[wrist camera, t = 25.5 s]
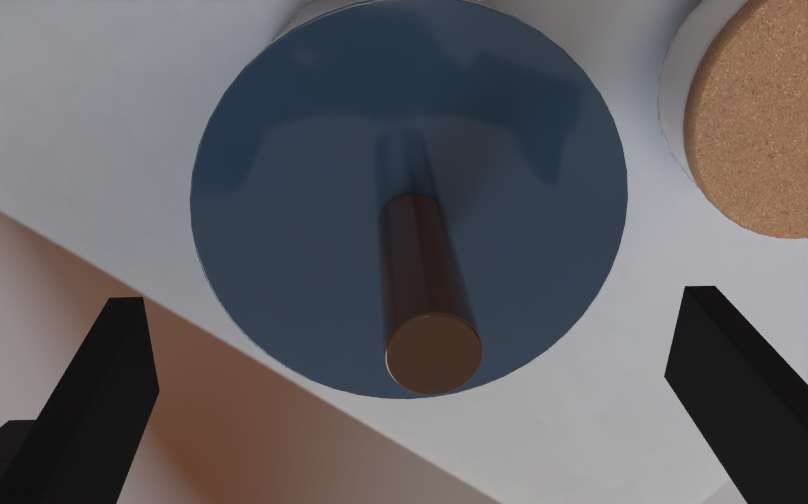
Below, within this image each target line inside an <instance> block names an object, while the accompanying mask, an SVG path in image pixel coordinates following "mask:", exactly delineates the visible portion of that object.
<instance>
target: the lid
mask: <svg viewBox="0 0 808 504" xmlns="http://www.w3.org/2000/svg"><path fill="white" fill-rule="evenodd" d="M627 201H628V188H627V169H626V163H625V158H624V152H623V147H622V143H621V140H620V137H619V134H618V131H617V128H616V125H615V122H614V119H613V117H612V115H611V113H610V111H609V109H608V107H607V105H606V103H605V102H604V100H603V98H602V96H601V94H600V92H599V91H598V90H597V88H596V87H595V85H594V84H593V83H592V81H591V80H590V78H589V77H588V76H587V74H586V73H585V72H584V70H583V69H582V68H581V67H580V66H579V65H578V64H577V63H576V62H575V61H574V60H573V59H572V58H571V57H570V56H569V55H568V54H567V53H566V52H565V51H564V50H563V49H562V48H561V47H559V46H558V45H557V44H556V43H554V42H553V41H552V40H550V39H549V38H548V37H546V36H545V35H544V34H542V33H541V32H540V31H538V30H537V29H536V28H534V27H532V26H530V25H528V24H527V23H525V22H523V21H521V20H519V19H518V18H516V17H514V16H512V15H510V14H509V13H506V12H503V11H501V10H498V9H495V8H493V7H490V6H487V5H485V4H482V3H479V2H475V1H470V0H356V1H352V2H349V3H346V4H343V5H340V6H338V7H335V8H332V9H329V10H326V11H323V12H321V13H319V14H317V15H315V16H313V17H311V18H309V19H307V20H305V21H303V22H301V23H300V24H298V25H296V26H294V27H292V28H291V29H289V30H288V31H287V32H285V33H284V34H282V35H281V36H280V37H278V38H277V39H275V40H274V41H272V42H271V43H270V44H268V45H267V46H266V47H265V48H264V49H263V50H262V51H261V52H260V53H259V54H258V55H257V56H255V57H254V58H253V59H252V60H251V61H250V62H249V63H248V64H247V65H246V66H245V67H244V68H243V70H242V71H241V72H240V73H239V75H238V76H237V77H236V79H235V80H234V81H233V82H232V84H231V85H230V86H229V87H228V89H227V90H226V91H225V93H224V95H223V96H222V98H221V100H220V101H219V103H218V105H217V107H216V108H215V110H214V112H213V113H212V115H211V117H210V119H209V121H208V124H207V126H206V129H205V131H204V134H203V136H202V139H201V141H200V144H199V147H198V151H197V155H196V159H195V163H194V168H193V172H192V181H191V193H190V211H191V227H192V232H193V237H194V242H195V247H196V252H197V255H198V258H199V260H200V263H201V266H202V269H203V272H204V274H205V277H206V279H207V281H208V283H209V285H210V287H211V289H212V291H213V292H214V294H215V296H216V298H217V300H218V302H219V303H220V304H221V306H222V307H223V309H224V310H225V311H226V313H227V314H228V316H229V317H230V319H231V320H232V321H233V322H234V323H235V325H236V326H237V327H238V328H239V329H240V330H241V331H242V332H243V333H244V334H245V335H246V337H247V338H248V339H249V340H250V341H252V342H253V343H254V344H255V345H256V346H258V347H259V348H260V349H261V350H262V351H263V352H265V353H266V354H267V355H268V356H270V357H271V358H273V359H274V360H276V361H277V362H279V363H280V364H282V365H283V366H285V367H286V368H288V369H290V370H292V371H294V372H296V373H298V374H300V375H302V376H304V377H305V378H307V379H309V380H312V381H314V382H317V383H320V384H322V385H325V386H328V387H331V388H333V389H337V390H341V391H345V392H349V393H353V394H357V395H363V396H370V397H378V398H391V399H415V398H428V397H436V396H442V395H447V394H453V393H458V392H461V391H465V390H468V389H472V388H475V387H479V386H482V385H484V384H487V383H489V382H492V381H494V380H496V379H499V378H501V377H504V376H506V375H508V374H509V373H511V372H513V371H515V370H517V369H519V368H521V367H522V366H524V365H526V364H528V363H529V362H531V361H532V360H533V359H535V358H536V357H538V356H539V355H541V354H542V353H544V352H545V351H546V350H548V349H549V348H550V347H551V346H552V345H553V344H555V343H556V342H557V341H558V340H559V339H560V338H562V337H563V336H564V335H565V334H566V333H567V332H568V331H569V330H570V329H571V328H572V326H573V325H574V324H575V323H576V322H577V321H578V320H579V319H580V318H581V317H582V316H583V314H584V313H585V311H586V310H587V309H588V307H589V306H590V304H591V303H592V302H593V300H594V299H595V298H596V296H597V295H598V293H599V291H600V289H601V287H602V286H603V284H604V282H605V280H606V278H607V276H608V275H609V273H610V270H611V268H612V265H613V263H614V260H615V258H616V255H617V252H618V250H619V246H620V242H621V238H622V234H623V230H624V226H625V220H626V210H627Z"/></svg>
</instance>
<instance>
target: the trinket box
mask: <svg viewBox="0 0 808 504" xmlns="http://www.w3.org/2000/svg"><path fill="white" fill-rule="evenodd" d="M657 106H658V118H659V122H660V126H661V130H662V134H663V136H664V138H665V141H666V143H667V145H668V147H669V149H670V152H671V154H672V156H673V157H674V159H675V160H676V162H677V163H678V164H679V166H680V167H681V169H682V170H683V171H684V173H685V174H686V176H687V177H688V178H689V179H690V180H691V181H692V182H693V183H694V184H695V185H696V186H697V187H698V188H699V189H700V190H701V191H702V193H703V194H704V195H705V197H706V198H707V199H708V201H710V202H711V203H712V204H713V205H714V206H715V207H716V208H717V209H718V210H719V211H720V212H721V213H722V214H723V215H725V216H726V217H727V218H728V219H730V220H732V221H733V222H735V223H736V224H738V225H740V226H741V227H743V228H745V229H748V230H751V231H753V232H756V233H758V234H762V235H766V236H771V237H776V238H792V239H800V238H808V0H703V1H702V2H701V3H700V4H699V5H698V6H697V7H696V8H695V9H694V10H693V11H692V12H691V14H690V15H689V16H688V17H687V18H686V20H685V21H684V23H683V24H682V25H681V27H680V28H679V29H678V31H677V33H676V34H675V36H674V38H673V40H672V42H671V43H670V45H669V47H668V50H667V52H666V55H665V58H664V60H663V63H662V67H661V71H660V75H659V80H658V92H657Z"/></svg>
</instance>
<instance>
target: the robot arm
mask: <svg viewBox="0 0 808 504" xmlns="http://www.w3.org/2000/svg"><path fill="white" fill-rule="evenodd" d="M664 377H665V378H666V380H667V382H668V383H669V385H670V386H671V388H672V389H673V391H674V392H675V394H676V395H677V397H678V398H679V400H680V401H681V403H682V404H683V406H684V408H685V409H686V411H687V412H688V414H689V415H690V417H691V418H692V420H693V421H694V423H695V424H696V426H697V427H698V429H699V430H700V432H701V433H702V435H703V437H704V438H705V440H706V441H707V443H708V444H709V446H710V447H711V449H712V450H713V452H714V453H715V455H716V456H717V458H718V459H719V461H720V462H721V464H722V466H723V467H724V469H725V470H726V472H727V473H728V475H729V476H730V478H731V479H732V481H733V482H734V484H735V485H736V487H737V488H738V490H739V492H740V493H741V495H742V496H743V497H744V499H745V501H746V502H747V504H808V385H807V384H806V382H805V381H804V380H803V379H802V378H801V377H800V376H799V375H798V374H797V373H796V372H795V371H794V370H793V369H792V368H791V366H790V365H789V364H788V363H787V362H786V361H785V360H784V359H783V358H782V357H781V356H780V355H779V354H778V353H777V352H776V350H775V349H774V348H773V347H772V346H771V345H770V344H769V343H768V342H767V341H766V340H765V339H764V338H763V337H762V336H761V334H760V333H759V332H758V331H757V330H756V329H755V328H754V327H753V326H752V325H751V324H750V323H749V322H748V321H747V320H746V318H745V317H744V316H743V315H742V314H741V313H740V312H739V311H738V310H737V309H736V308H735V307H734V306H733V305H732V304H731V302H730V301H729V300H728V299H727V298H726V297H725V296H724V295H723V294H722V293H721V292H720V291H719V290H718V289H717V288H716V286H685V289H684V293H683V298H682V302H681V306H680V310H679V315H678V319H677V323H676V328H675V332H674V336H673V341H672V345H671V349H670V354H669V358H668V362H667V367H666V371H665V375H664ZM158 394H159V386H158V380H157V374H156V369H155V363H154V358H153V351H152V346H151V340H150V335H149V329H148V323H147V318H146V312H145V306H144V301H143V297H123V298H109V299H108V301H107V303H106V304H105V306H104V308H103V309H102V311H101V313H100V315H99V316H98V318H97V319H96V321H95V323H94V324H93V326H92V328H91V329H90V331H89V333H88V334H87V336H86V338H85V339H84V341H83V343H82V345H81V346H80V348H79V349H78V351H77V353H76V354H75V356H74V358H73V360H72V361H71V363H70V364H69V366H68V368H67V369H66V371H65V373H64V374H63V376H62V378H61V379H60V381H59V383H58V385H57V386H56V388H55V389H54V391H53V393H52V395H51V396H50V398H49V399H48V401H47V403H46V405H45V406H44V408H43V409H42V411H41V413H40V414H39V416H38V418H37V419H36V420H10V421H8V422H7V423H5V424H4V425H3V426H2V427H0V504H116V503H117V500H118V498H119V495H120V492H121V490H122V487H123V485H124V482H125V479H126V477H127V474H128V472H129V469H130V467H131V464H132V461H133V459H134V456H135V454H136V451H137V448H138V446H139V443H140V441H141V438H142V435H143V433H144V430H145V427H146V425H147V422H148V420H149V417H150V415H151V412H152V409H153V407H154V404H155V402H156V399H157V396H158Z"/></svg>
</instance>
